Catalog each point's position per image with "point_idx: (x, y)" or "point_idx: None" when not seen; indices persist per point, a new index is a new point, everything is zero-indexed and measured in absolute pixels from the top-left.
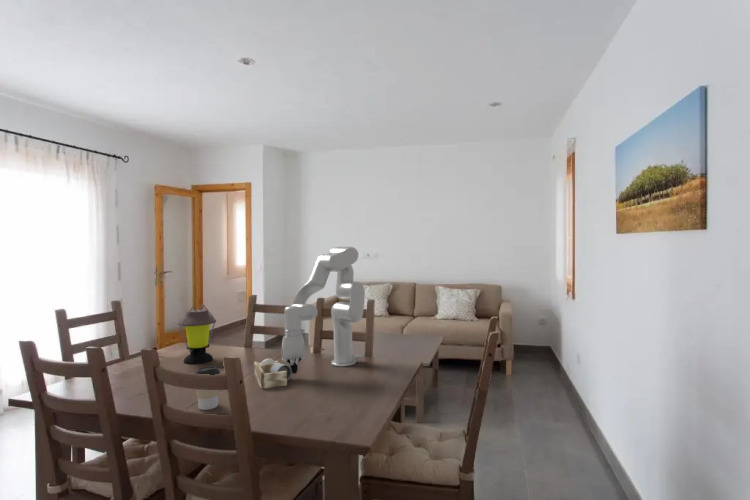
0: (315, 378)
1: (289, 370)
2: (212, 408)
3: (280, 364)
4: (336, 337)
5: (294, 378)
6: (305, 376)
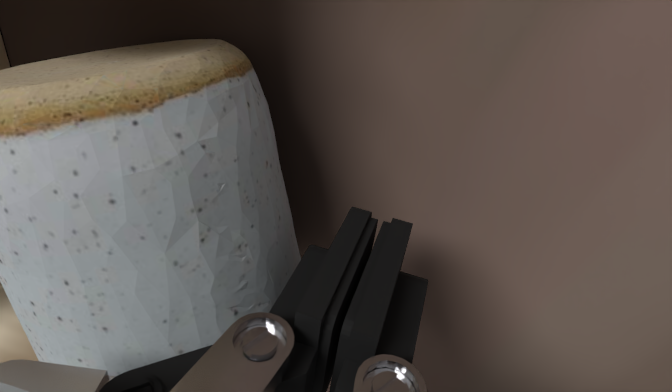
0: (625, 380)
1: (270, 295)
2: None
3: (40, 330)
4: None
5: (400, 202)
6: (588, 232)
